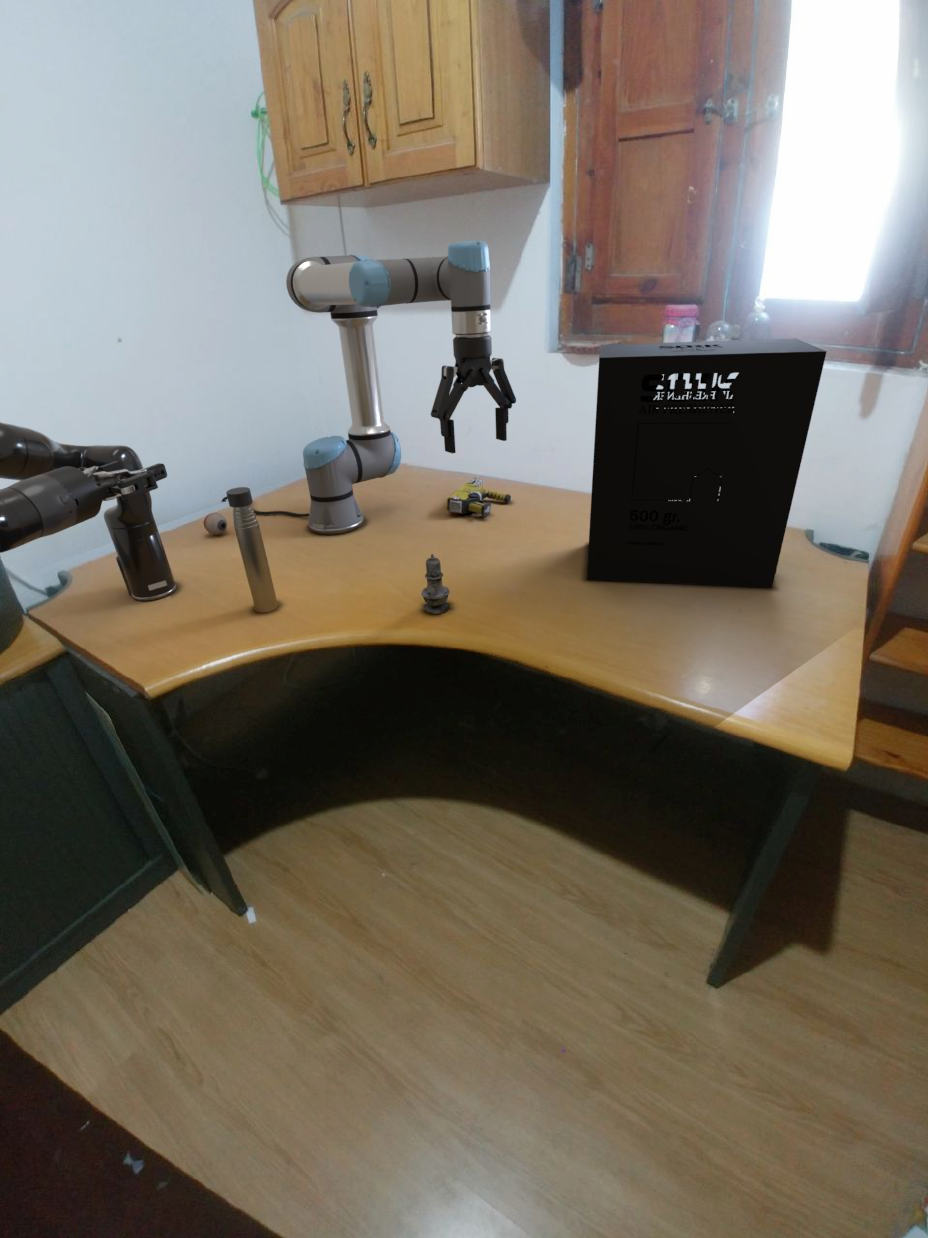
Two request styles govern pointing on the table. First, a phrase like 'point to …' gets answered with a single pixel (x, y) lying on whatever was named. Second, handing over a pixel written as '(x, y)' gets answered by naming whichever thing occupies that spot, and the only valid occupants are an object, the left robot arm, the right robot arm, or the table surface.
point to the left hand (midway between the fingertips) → (142, 468)
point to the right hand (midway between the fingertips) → (476, 445)
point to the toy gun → (473, 499)
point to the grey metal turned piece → (435, 588)
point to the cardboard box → (698, 459)
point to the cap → (239, 497)
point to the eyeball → (215, 523)
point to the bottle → (254, 559)
